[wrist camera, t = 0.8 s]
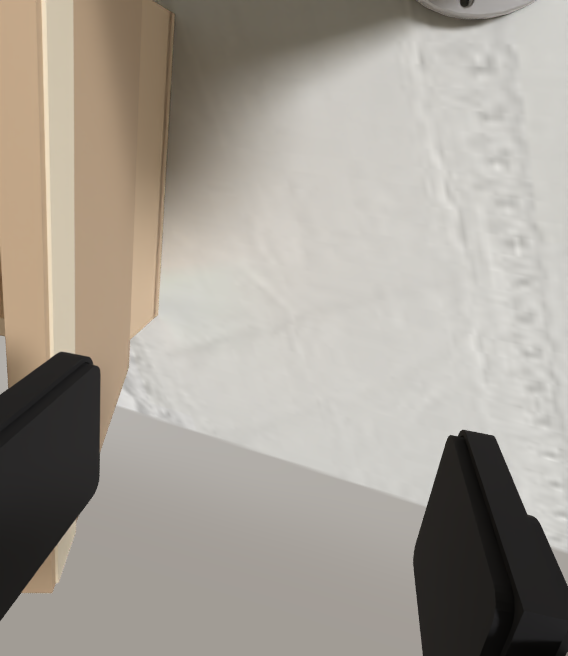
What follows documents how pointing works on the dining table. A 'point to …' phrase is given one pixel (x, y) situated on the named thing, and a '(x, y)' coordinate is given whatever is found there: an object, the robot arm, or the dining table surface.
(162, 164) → the cardboard box
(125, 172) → the box lid
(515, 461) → the dining table surface
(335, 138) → the dining table surface
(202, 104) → the dining table surface
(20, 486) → the robot arm
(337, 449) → the dining table surface
